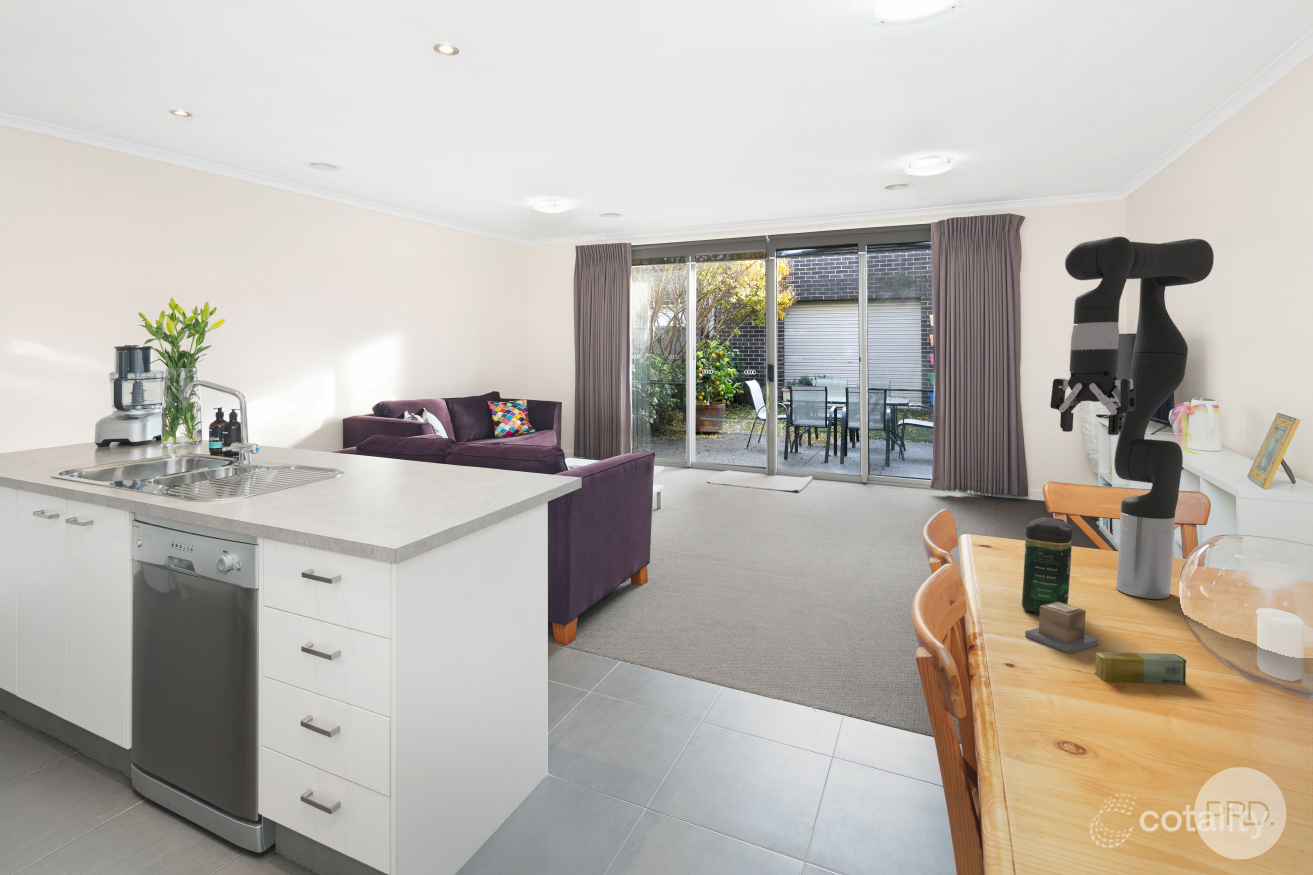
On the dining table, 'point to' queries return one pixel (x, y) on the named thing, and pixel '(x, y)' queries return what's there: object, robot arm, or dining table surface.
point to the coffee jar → (1046, 563)
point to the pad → (1060, 645)
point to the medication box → (1141, 667)
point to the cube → (1062, 622)
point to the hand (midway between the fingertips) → (1089, 433)
